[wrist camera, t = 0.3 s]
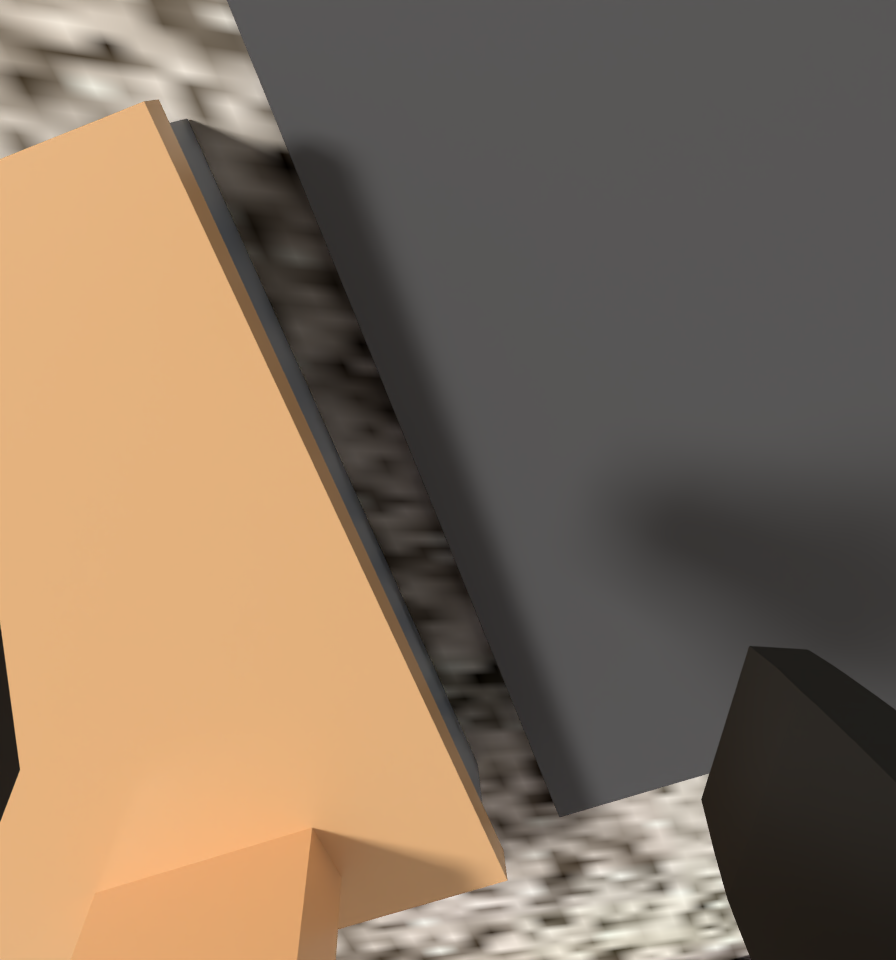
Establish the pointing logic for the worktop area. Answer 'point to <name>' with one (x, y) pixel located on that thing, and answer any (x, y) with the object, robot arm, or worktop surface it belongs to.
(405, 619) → the blue-grey tray
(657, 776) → the mat
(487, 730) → the worktop surface
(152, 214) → the lid
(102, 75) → the worktop surface
